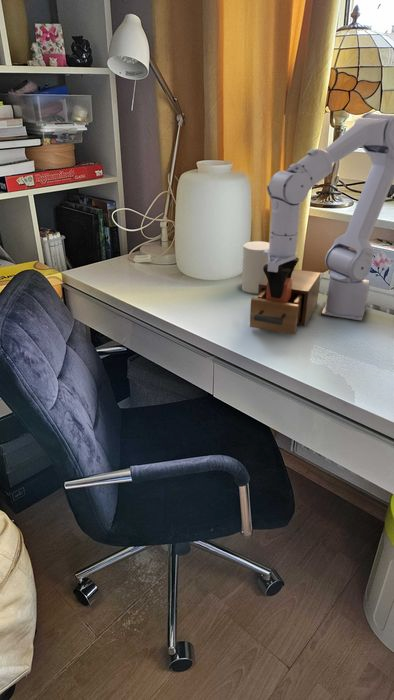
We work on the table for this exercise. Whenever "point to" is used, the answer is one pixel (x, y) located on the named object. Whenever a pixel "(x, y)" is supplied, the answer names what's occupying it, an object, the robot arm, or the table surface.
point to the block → (285, 294)
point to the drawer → (276, 313)
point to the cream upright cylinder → (253, 265)
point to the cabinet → (302, 290)
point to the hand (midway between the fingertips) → (279, 293)
